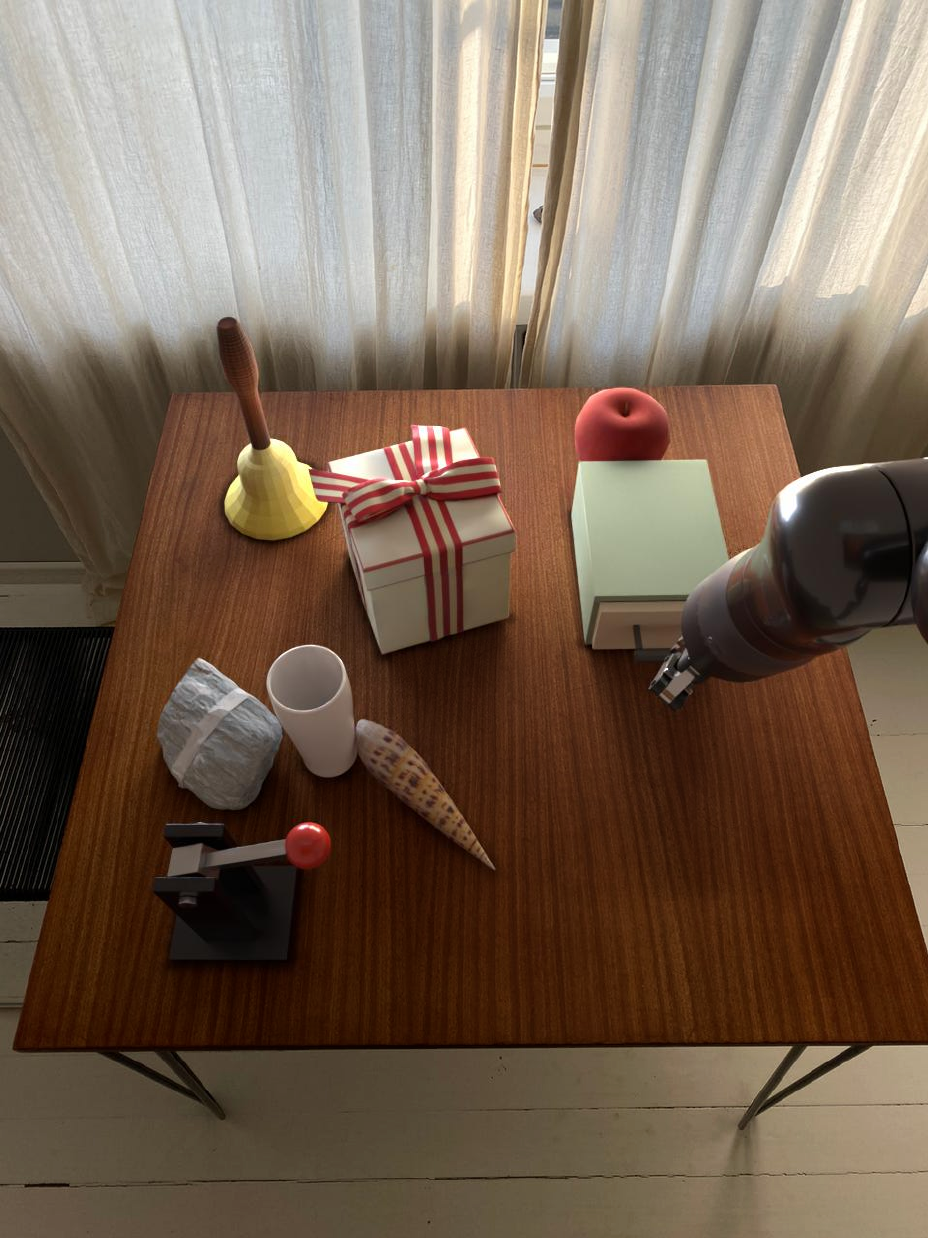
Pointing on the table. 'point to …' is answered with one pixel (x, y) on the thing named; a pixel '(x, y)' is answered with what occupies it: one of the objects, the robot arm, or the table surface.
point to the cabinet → (643, 532)
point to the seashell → (413, 783)
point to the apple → (621, 427)
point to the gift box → (424, 535)
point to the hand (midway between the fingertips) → (684, 653)
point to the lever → (253, 854)
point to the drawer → (639, 627)
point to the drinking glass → (315, 707)
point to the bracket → (228, 906)
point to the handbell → (262, 456)
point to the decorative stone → (217, 738)
